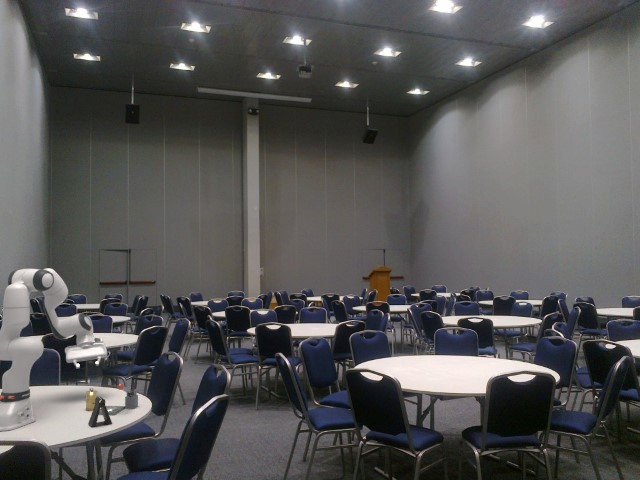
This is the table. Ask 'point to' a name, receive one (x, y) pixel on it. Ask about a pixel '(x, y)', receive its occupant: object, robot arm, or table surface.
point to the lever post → (131, 400)
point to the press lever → (125, 389)
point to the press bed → (113, 410)
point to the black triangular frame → (95, 414)
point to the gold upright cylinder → (90, 399)
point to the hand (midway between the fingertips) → (87, 366)
